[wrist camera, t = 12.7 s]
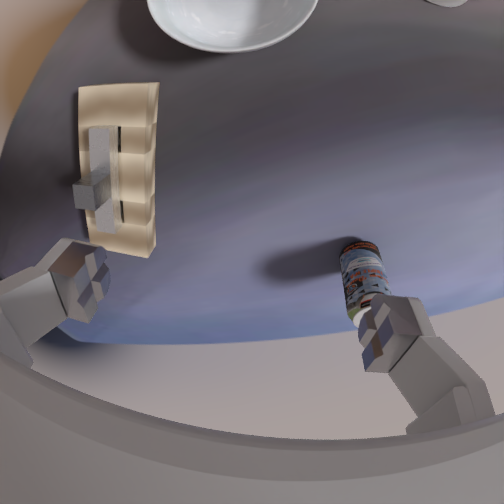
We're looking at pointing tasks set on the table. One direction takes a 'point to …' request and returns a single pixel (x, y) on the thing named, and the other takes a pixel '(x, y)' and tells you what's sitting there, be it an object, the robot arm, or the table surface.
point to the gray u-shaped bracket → (102, 179)
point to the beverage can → (362, 277)
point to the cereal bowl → (230, 22)
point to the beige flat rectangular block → (125, 159)
